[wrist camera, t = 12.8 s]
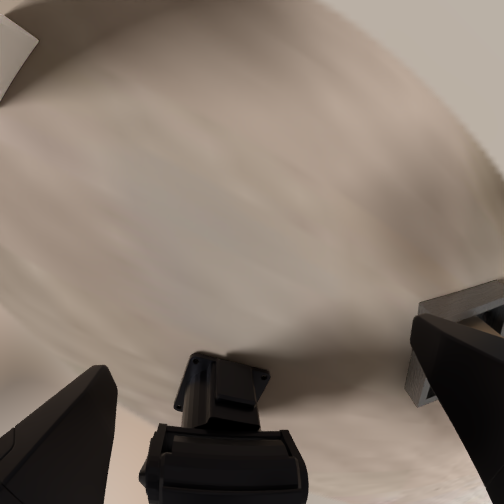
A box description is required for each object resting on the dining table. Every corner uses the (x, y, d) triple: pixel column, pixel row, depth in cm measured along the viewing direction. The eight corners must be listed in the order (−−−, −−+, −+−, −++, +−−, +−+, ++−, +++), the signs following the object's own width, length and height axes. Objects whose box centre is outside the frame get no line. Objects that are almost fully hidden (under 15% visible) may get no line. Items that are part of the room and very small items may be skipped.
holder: (404, 388, 27) (417, 407, 24) (419, 302, 24) (438, 320, 21) (476, 360, 28) (490, 374, 25) (496, 279, 24) (515, 292, 22)
